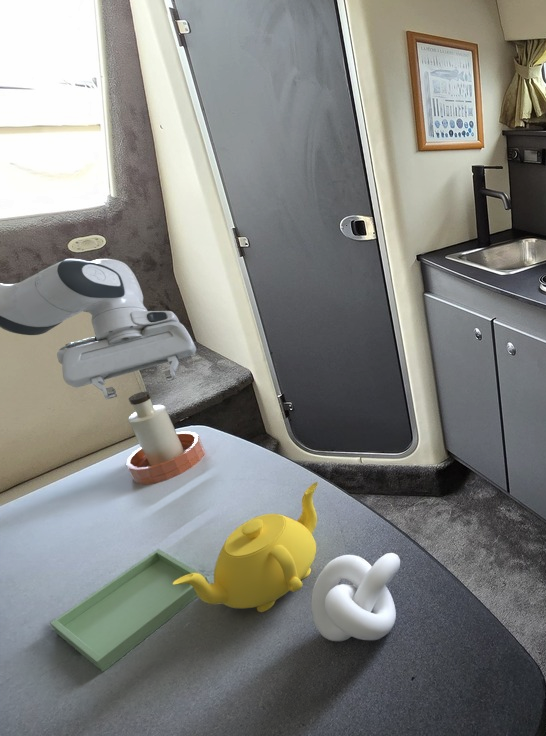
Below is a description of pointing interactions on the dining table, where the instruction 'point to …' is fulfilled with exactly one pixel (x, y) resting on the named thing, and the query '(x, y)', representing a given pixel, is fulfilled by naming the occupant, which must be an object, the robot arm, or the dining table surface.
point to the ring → (169, 468)
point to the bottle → (154, 430)
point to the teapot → (261, 560)
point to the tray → (126, 609)
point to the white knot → (355, 598)
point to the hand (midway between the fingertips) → (142, 388)
